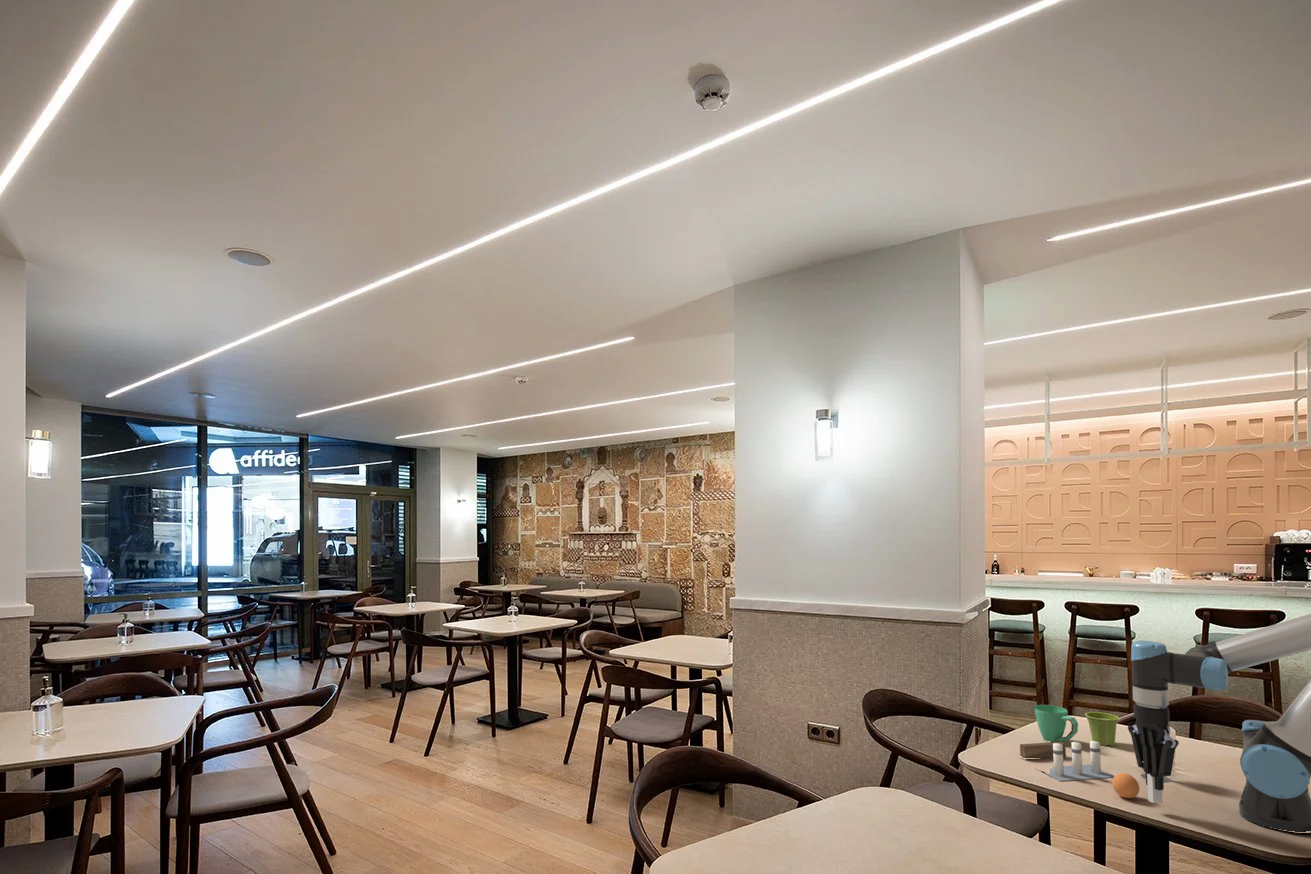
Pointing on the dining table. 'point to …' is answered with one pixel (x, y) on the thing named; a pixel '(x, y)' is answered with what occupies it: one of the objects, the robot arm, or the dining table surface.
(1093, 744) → the pin right
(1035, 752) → the back wall
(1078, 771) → the pin middle
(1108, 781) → the dining table surface
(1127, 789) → the brown egg
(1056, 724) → the mug
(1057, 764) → the pin left
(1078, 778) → the pin deck
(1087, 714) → the plant pot
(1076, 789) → the dining table surface
